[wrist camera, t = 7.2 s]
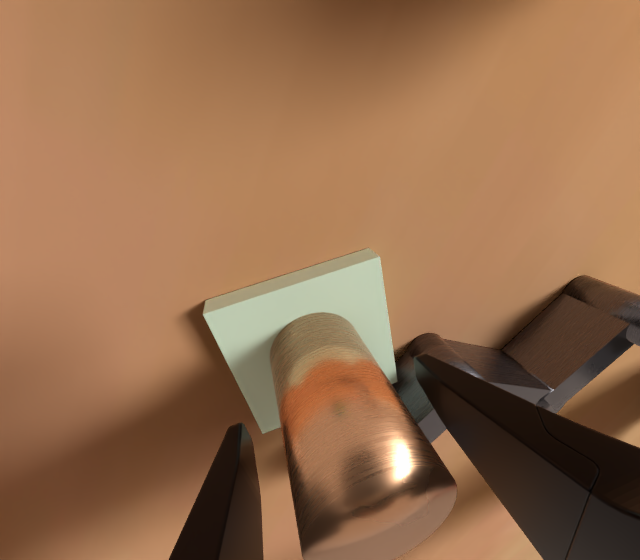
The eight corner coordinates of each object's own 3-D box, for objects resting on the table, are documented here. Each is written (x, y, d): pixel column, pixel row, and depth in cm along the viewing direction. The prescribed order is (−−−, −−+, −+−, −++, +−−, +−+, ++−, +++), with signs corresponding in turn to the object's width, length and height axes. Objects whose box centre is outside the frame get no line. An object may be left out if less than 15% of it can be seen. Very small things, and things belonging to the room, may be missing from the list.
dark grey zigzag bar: (578, 343, 18) (663, 393, 14) (336, 441, 16) (364, 527, 12) (596, 270, 15) (703, 308, 12) (314, 374, 13) (342, 456, 10)
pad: (387, 367, 14) (397, 381, 14) (261, 415, 14) (262, 434, 13) (368, 247, 11) (379, 256, 11) (205, 300, 11) (202, 314, 10)
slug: (364, 369, 13) (457, 528, 7) (284, 399, 12) (322, 593, 7) (350, 299, 11) (456, 441, 6) (256, 331, 11) (279, 518, 5)
